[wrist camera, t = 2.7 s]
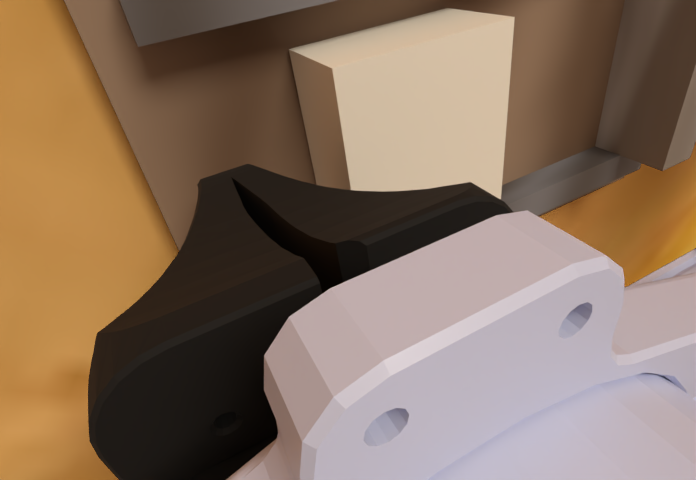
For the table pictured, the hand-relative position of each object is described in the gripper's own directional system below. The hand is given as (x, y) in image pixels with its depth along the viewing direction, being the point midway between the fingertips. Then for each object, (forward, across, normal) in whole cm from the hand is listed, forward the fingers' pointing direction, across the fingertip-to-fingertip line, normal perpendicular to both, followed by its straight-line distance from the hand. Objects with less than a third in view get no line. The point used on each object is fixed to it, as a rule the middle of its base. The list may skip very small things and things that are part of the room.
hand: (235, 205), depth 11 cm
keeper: (+2, -5, 0) cm, 6 cm away
